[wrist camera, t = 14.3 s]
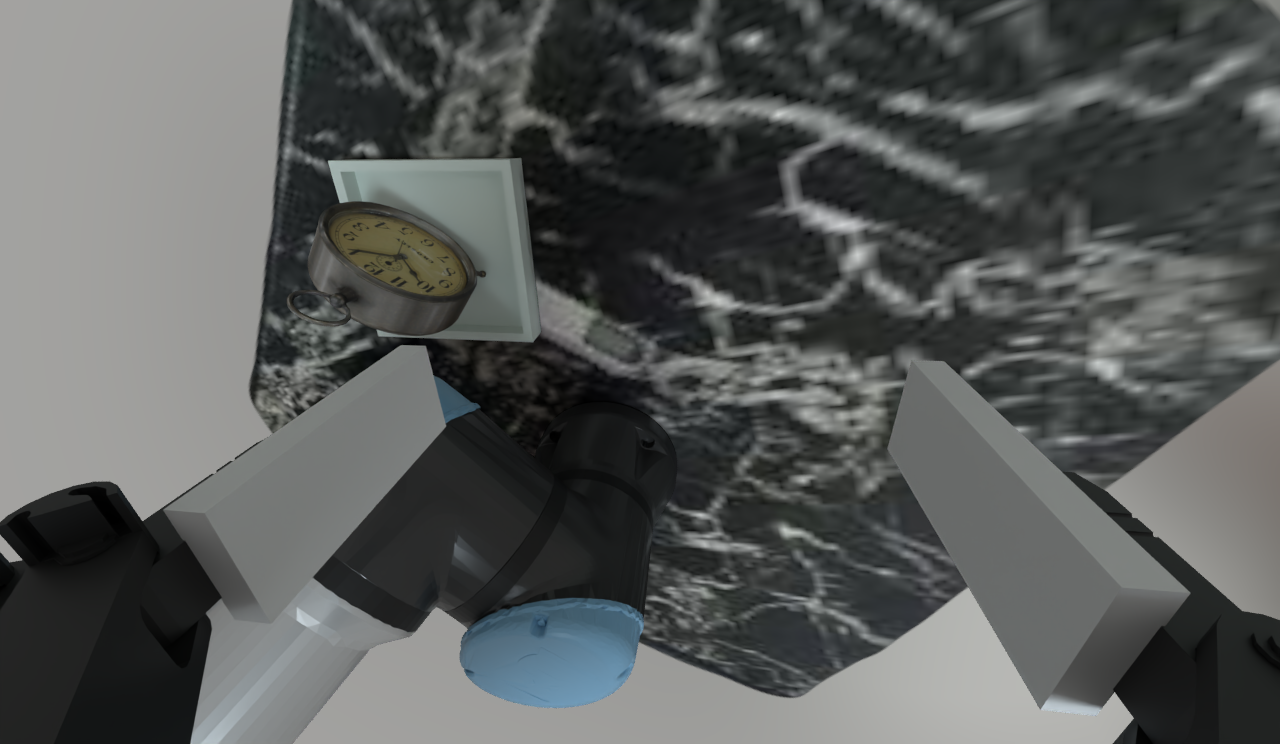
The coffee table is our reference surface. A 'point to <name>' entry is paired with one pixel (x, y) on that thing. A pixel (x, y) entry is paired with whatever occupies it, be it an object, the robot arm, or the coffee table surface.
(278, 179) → the coffee table surface
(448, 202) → the tray
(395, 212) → the alarm clock
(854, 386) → the coffee table surface
